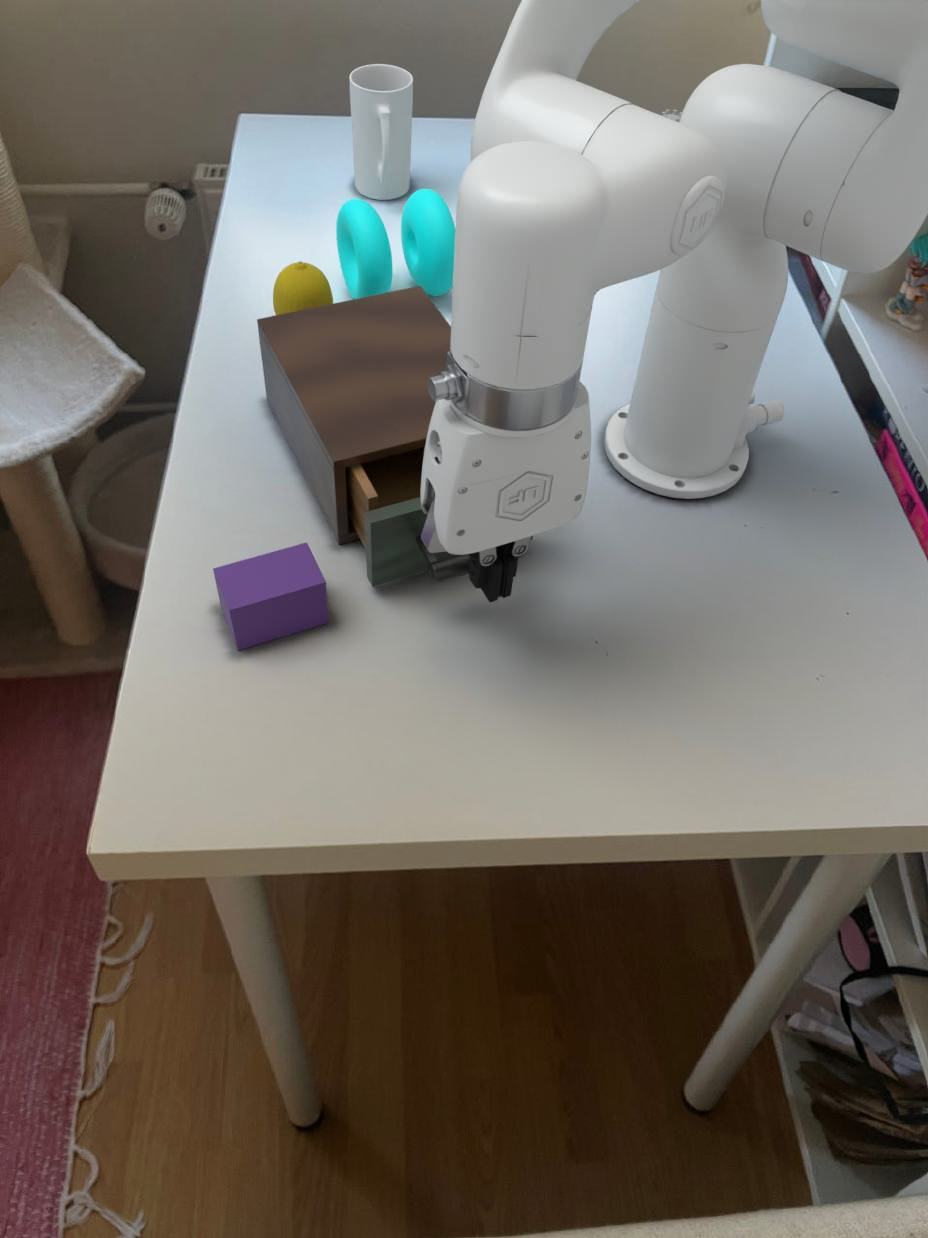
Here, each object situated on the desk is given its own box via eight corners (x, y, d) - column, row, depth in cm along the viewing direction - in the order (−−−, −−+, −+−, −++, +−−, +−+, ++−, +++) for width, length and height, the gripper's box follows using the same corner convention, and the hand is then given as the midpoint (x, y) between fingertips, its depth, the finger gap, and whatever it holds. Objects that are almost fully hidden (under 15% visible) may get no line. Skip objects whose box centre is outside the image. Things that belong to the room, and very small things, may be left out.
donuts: (460, 312, 101) (465, 218, 93) (365, 329, 98) (362, 234, 90) (425, 259, 106) (428, 167, 99) (335, 275, 104) (330, 181, 96)
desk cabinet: (505, 498, 84) (515, 415, 77) (338, 545, 80) (333, 461, 73) (419, 367, 95) (421, 284, 88) (267, 403, 90) (256, 318, 83)
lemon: (325, 359, 95) (320, 284, 88) (269, 349, 95) (260, 274, 89) (341, 326, 98) (338, 251, 92) (287, 317, 99) (280, 241, 92)
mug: (351, 172, 117) (347, 63, 108) (408, 171, 118) (409, 63, 109) (356, 217, 111) (352, 106, 102) (416, 216, 112) (418, 105, 102)
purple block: (310, 583, 77) (306, 541, 73) (329, 622, 75) (326, 581, 71) (221, 609, 75) (212, 568, 71) (237, 650, 72) (229, 610, 69)
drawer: (557, 577, 77) (569, 513, 72) (393, 628, 73) (393, 564, 68) (443, 406, 90) (447, 341, 84) (298, 442, 86) (291, 376, 80)
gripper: (420, 448, 53) (415, 656, 67) (658, 384, 58) (607, 592, 72) (368, 366, 57) (374, 579, 72) (594, 313, 62) (557, 522, 76)
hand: (490, 585), depth 72 cm, fingers closed
